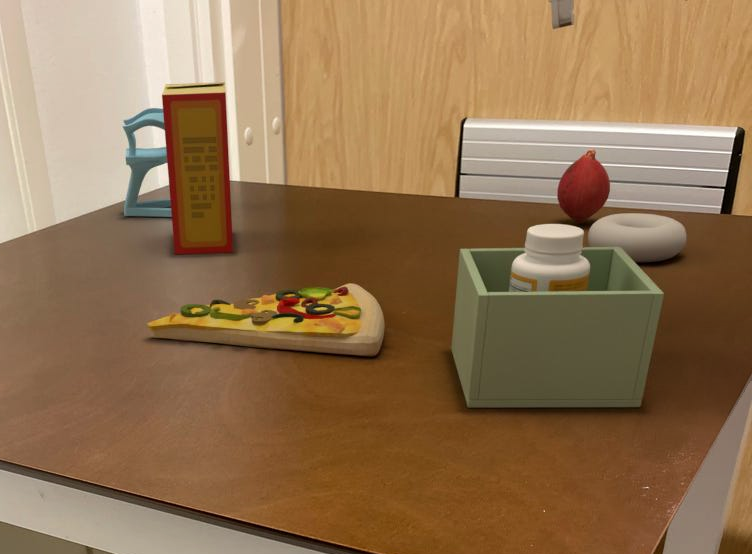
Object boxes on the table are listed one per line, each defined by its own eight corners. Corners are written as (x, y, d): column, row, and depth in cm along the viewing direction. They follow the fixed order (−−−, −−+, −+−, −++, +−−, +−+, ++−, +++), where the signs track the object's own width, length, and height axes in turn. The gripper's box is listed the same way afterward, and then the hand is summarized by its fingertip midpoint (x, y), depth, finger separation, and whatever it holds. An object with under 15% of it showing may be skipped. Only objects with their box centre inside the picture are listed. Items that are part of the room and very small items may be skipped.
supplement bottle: (581, 363, 76) (605, 224, 70) (562, 387, 72) (585, 242, 66) (512, 353, 78) (529, 218, 72) (490, 375, 74) (505, 234, 68)
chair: (124, 207, 128) (113, 105, 121) (187, 204, 129) (180, 102, 122) (123, 220, 122) (112, 113, 115) (189, 217, 123) (182, 110, 116)
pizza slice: (395, 358, 79) (397, 321, 78) (143, 368, 79) (139, 331, 77) (370, 301, 92) (371, 269, 90) (153, 310, 92) (150, 277, 90)
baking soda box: (233, 252, 108) (225, 88, 99) (174, 254, 108) (161, 90, 99) (231, 231, 116) (224, 78, 107) (177, 234, 116) (165, 80, 106)
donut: (611, 239, 109) (567, 255, 103) (617, 206, 107) (573, 221, 101) (698, 253, 104) (657, 271, 98) (706, 218, 102) (664, 235, 96)
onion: (554, 229, 113) (565, 153, 109) (551, 217, 118) (561, 144, 113) (606, 229, 112) (619, 153, 108) (601, 218, 117) (613, 144, 112)
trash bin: (602, 349, 80) (620, 246, 75) (640, 407, 70) (664, 293, 65) (451, 350, 81) (459, 248, 76) (467, 407, 71) (478, 295, 66)
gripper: (795, -265, 65) (781, -20, 71) (488, -171, 73) (501, 40, 80) (801, -287, 60) (785, -21, 66) (471, -184, 68) (486, 43, 75)
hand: (627, 13), depth 73 cm, fingers open, 8 cm apart
